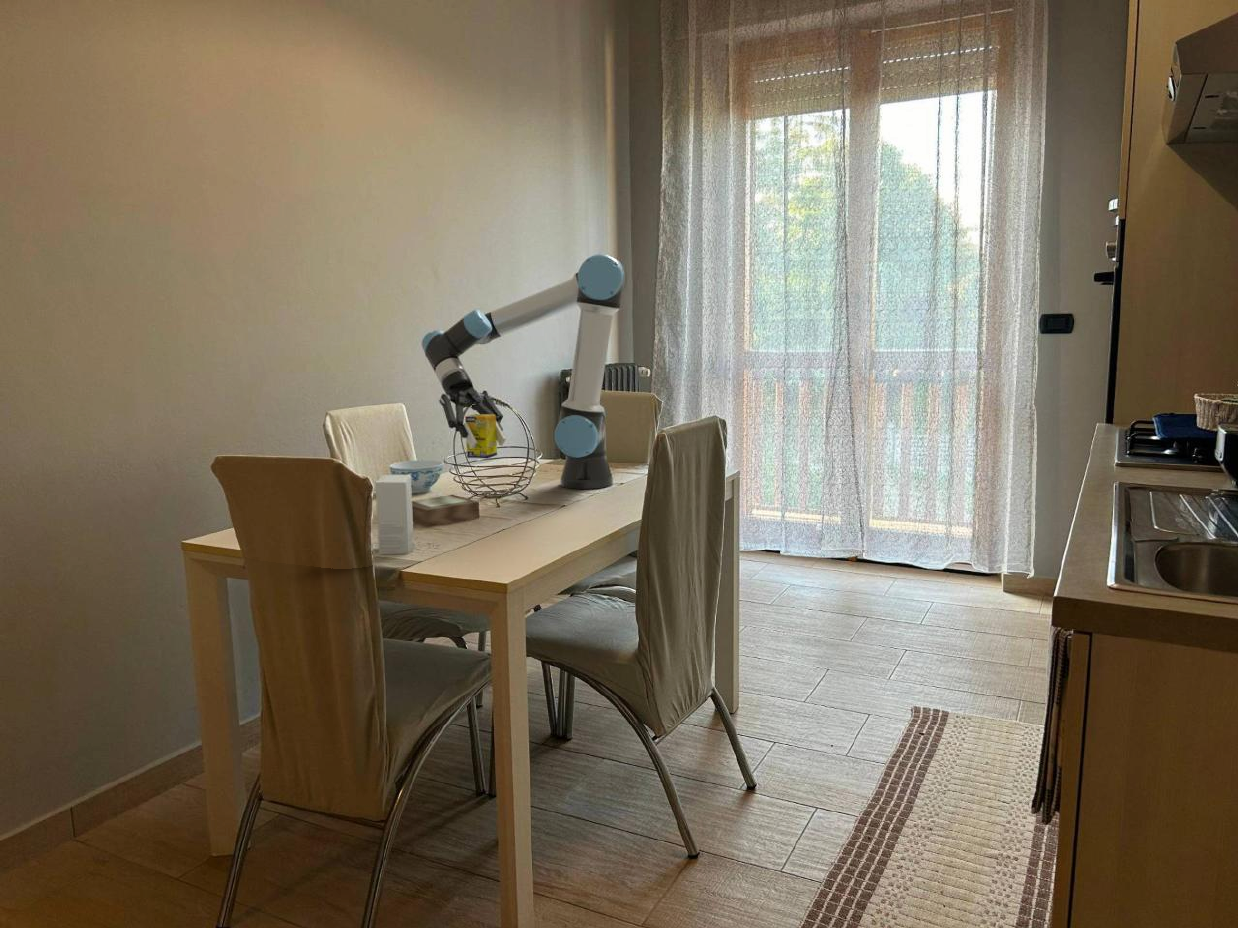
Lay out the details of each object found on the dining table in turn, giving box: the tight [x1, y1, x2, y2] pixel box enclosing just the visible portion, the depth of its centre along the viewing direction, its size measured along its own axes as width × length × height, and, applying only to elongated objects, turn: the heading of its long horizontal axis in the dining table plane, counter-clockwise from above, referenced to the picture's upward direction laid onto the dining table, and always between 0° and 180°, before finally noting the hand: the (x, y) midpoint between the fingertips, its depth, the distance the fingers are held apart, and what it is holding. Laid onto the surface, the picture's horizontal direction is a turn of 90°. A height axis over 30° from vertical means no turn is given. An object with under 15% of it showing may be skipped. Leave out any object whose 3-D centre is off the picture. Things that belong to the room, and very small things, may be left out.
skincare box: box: [375, 474, 415, 556], centre depth 194 cm, size 8×7×16 cm
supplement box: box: [464, 413, 498, 460], centre depth 240 cm, size 6×6×11 cm
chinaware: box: [388, 459, 444, 494], centre depth 262 cm, size 15×15×8 cm
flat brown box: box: [412, 494, 480, 528], centre depth 225 cm, size 14×13×4 cm
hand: (488, 443), depth 237 cm, fingers closed on supplement box, 8 cm apart
